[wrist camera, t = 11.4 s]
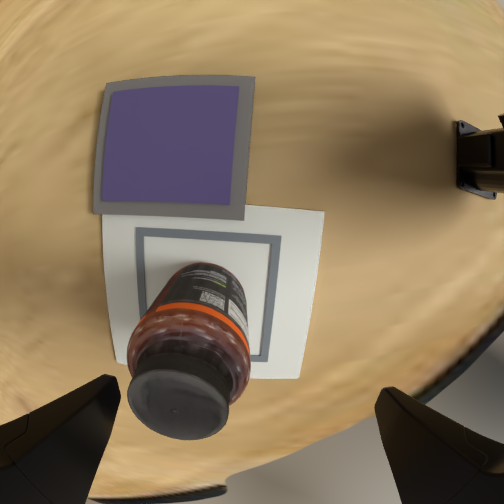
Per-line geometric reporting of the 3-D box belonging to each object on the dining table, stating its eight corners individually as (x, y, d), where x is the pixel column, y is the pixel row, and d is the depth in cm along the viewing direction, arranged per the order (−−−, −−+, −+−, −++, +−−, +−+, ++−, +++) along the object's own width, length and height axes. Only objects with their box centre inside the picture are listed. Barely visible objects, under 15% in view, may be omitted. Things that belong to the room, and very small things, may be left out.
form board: (322, 211, 19) (325, 212, 18) (297, 375, 22) (298, 379, 22) (105, 199, 18) (101, 200, 18) (118, 360, 21) (116, 363, 21)
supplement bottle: (174, 336, 20) (130, 448, 9) (159, 264, 19) (78, 345, 8) (251, 331, 20) (259, 452, 9) (242, 255, 19) (243, 342, 8)
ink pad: (254, 82, 17) (255, 74, 15) (243, 219, 19) (244, 221, 18) (111, 87, 16) (104, 81, 15) (99, 212, 18) (90, 214, 17)
